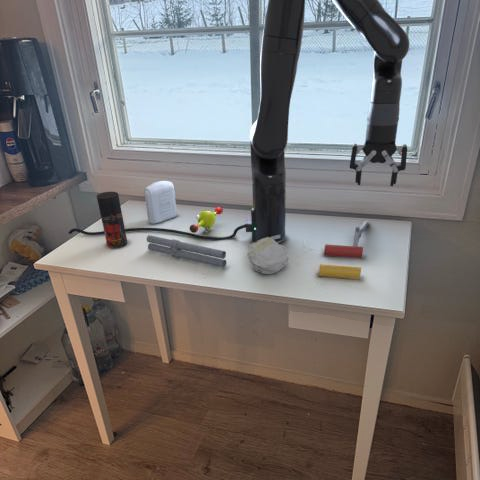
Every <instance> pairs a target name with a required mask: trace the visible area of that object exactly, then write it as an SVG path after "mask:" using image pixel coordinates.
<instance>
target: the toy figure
mask: <svg viewBox="0 0 480 480" xmlns="http://www.w3.org/2000/svg"><path fill="white" fill-rule="evenodd" d="M223 212H224V210H223V207H222V206H216V207H215V209H214V211H213V212H212V211H210V210H203V211H201V212H199V214H196V215H195V219H196V220H197V222H198V223H197V224H191V225H190V226H189V231H190V233H192V234H196V233H197V232H198V231H199V228H201V227H202V228H204V231H203V233H204V234H208V232H212V230H211V228H212V227H213V226H214V225H215V223H216V216H217V215H221V214H223Z"/></svg>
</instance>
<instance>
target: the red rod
mask: <svg viewBox="0 0 480 480" xmlns="http://www.w3.org/2000/svg"><path fill="white" fill-rule="evenodd" d="M363 254H364V246H358V247H357V246H353V245H343V244H342V245H341V244H340V245H339V244H328V243H327V244H326V243H325V245H324V250H323V256H325V257H338V258H339V257H341V258H352V259H363Z"/></svg>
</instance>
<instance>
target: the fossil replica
mask: <svg viewBox="0 0 480 480" xmlns="http://www.w3.org/2000/svg"><path fill="white" fill-rule="evenodd" d="M247 256H248V259H249V261H250V264H251V267H252V269H253V271H254V272H258V273H261V274H263V275H274V274H275V273H277V272H279V271H281V270H282V269H284V268H285V267H286V266H287V265H288V264H289V261H290V258H289V256H288V252H287V251H286V247H285V246H284V245H283V244H280V243H279V244H278V243H277V242H276V241H275V240H274V239H272V238H269V237H266V238H263V239H261V240H259V241H257V242H252V243H250V244H249V245H248V250H247Z"/></svg>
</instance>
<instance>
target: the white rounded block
mask: <svg viewBox="0 0 480 480" xmlns="http://www.w3.org/2000/svg"><path fill="white" fill-rule="evenodd" d="M143 192H144V193H143V194H144V201H145V208H146V213H147V220H148V222H149V223H150V224H152V225H155V224H159V223H162V222H164V221H167V220H170V219H173V218H176V217H177V216H178V211H177V202H176V192H175V187H174V184H173V182H172V181H170V180H159V181H155V182H153V183H151V184H149V185H148V186H146V187H145V188H144V191H143Z"/></svg>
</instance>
